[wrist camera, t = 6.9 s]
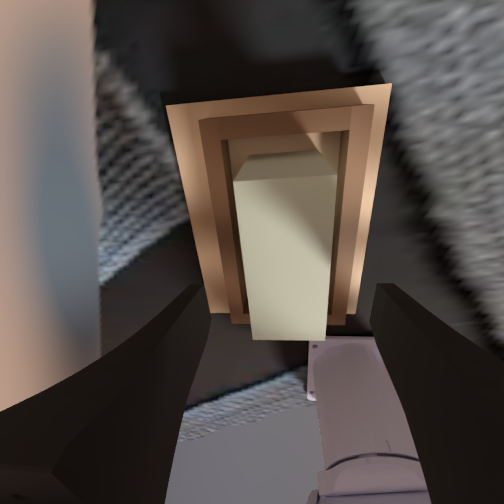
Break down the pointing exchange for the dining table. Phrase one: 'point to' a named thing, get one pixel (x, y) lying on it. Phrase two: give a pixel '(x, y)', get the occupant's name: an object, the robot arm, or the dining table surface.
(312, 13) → the dining table surface
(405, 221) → the dining table surface
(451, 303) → the dining table surface
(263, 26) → the dining table surface
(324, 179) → the beige block
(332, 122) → the slot board
